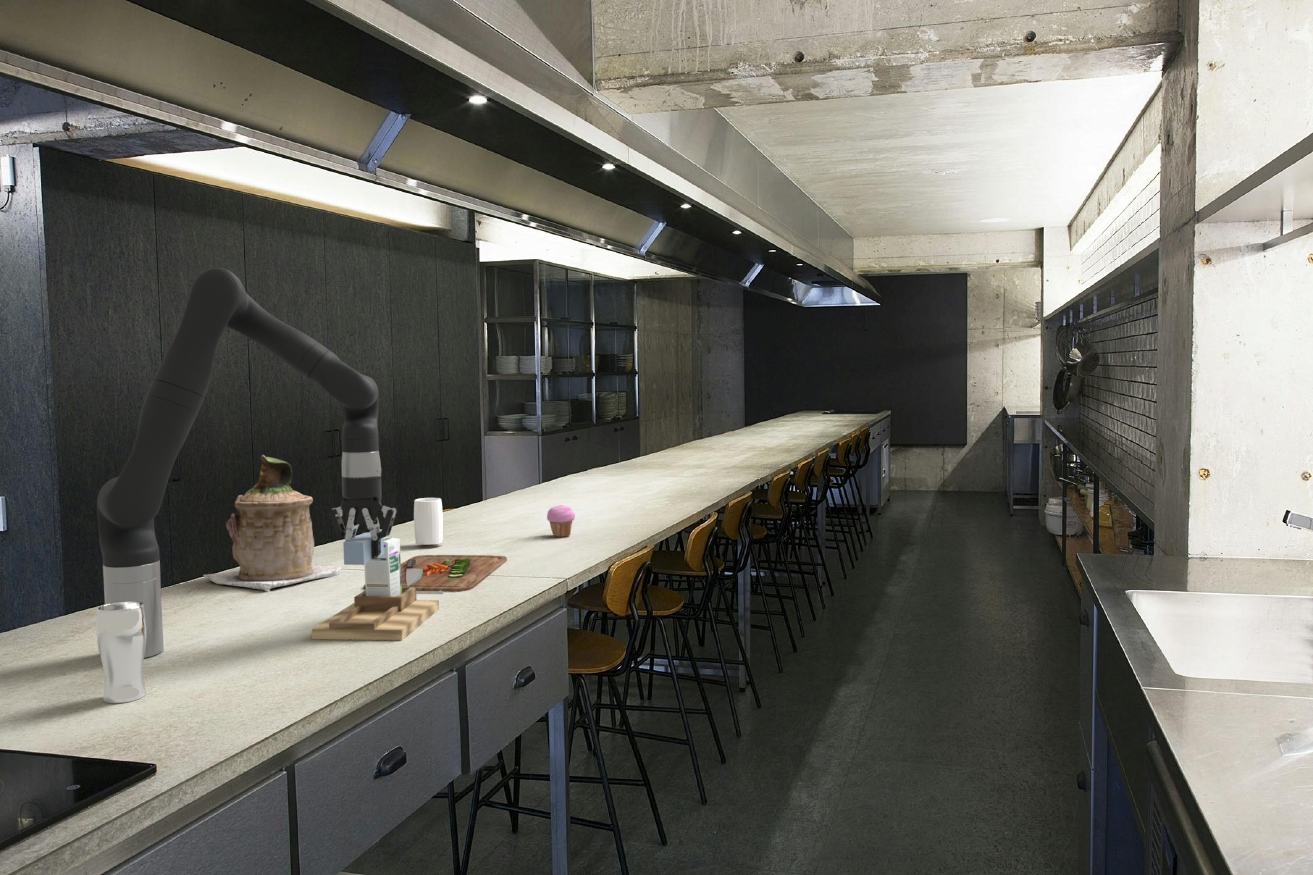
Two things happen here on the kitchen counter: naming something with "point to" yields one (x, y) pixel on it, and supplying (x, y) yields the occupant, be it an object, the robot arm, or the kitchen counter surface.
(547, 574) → the kitchen counter surface
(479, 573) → the chopping board
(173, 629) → the kitchen counter surface
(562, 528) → the cupcake
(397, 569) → the syrup box
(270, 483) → the cookie jar
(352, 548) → the block
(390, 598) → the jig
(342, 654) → the kitchen counter surface
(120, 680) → the beer glass
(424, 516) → the cup
